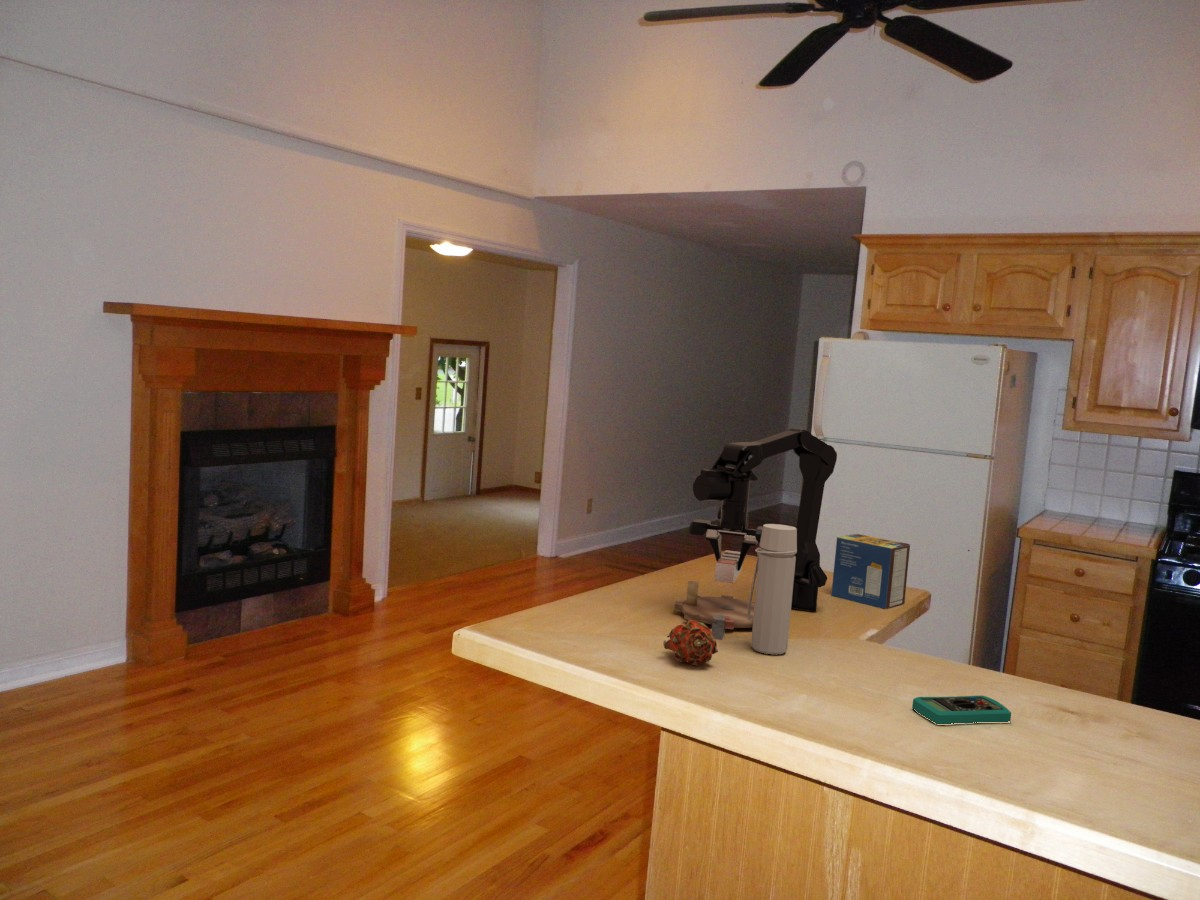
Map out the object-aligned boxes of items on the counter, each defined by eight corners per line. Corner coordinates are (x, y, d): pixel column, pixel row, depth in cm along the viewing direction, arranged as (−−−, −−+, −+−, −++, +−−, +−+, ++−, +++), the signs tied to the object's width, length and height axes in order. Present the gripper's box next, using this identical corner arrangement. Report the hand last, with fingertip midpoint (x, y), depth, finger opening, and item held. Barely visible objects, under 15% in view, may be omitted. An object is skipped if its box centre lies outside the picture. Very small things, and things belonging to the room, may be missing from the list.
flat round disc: (726, 597, 217) (729, 570, 217) (801, 622, 199) (804, 593, 198) (653, 606, 203) (655, 578, 203) (726, 635, 185) (729, 604, 184)
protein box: (850, 590, 239) (855, 533, 238) (905, 604, 228) (911, 544, 227) (829, 595, 232) (835, 536, 230) (885, 609, 221) (892, 547, 220)
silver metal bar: (741, 569, 209) (743, 551, 209) (732, 583, 194) (734, 564, 193) (724, 567, 210) (726, 549, 210) (714, 581, 195) (716, 561, 194)
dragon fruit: (706, 682, 163) (669, 670, 173) (736, 650, 167) (698, 641, 177) (683, 646, 161) (647, 636, 171) (714, 615, 164) (677, 607, 175)
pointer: (725, 633, 190) (726, 615, 189) (722, 639, 185) (724, 620, 185) (713, 631, 190) (715, 613, 190) (710, 637, 186) (712, 618, 185)
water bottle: (795, 651, 180) (806, 528, 178) (773, 659, 174) (785, 531, 172) (756, 640, 186) (766, 521, 184) (734, 646, 181) (745, 523, 179)
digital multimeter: (1013, 726, 149) (1015, 709, 149) (936, 729, 145) (938, 711, 145) (984, 709, 156) (986, 693, 156) (909, 711, 152) (911, 694, 152)
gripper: (780, 500, 206) (774, 567, 207) (699, 491, 211) (694, 557, 212) (776, 506, 195) (770, 577, 196) (691, 497, 200) (685, 566, 201)
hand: (729, 569), depth 202 cm, fingers closed on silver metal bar, 4 cm apart
